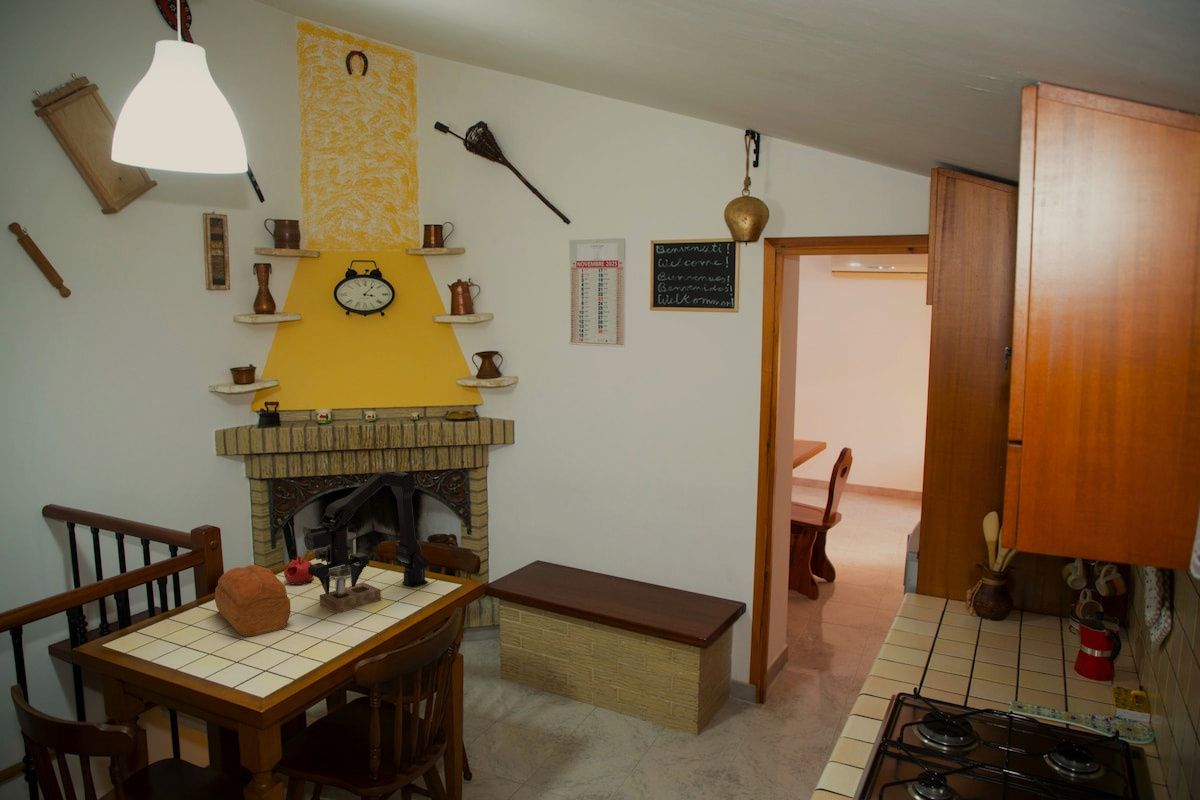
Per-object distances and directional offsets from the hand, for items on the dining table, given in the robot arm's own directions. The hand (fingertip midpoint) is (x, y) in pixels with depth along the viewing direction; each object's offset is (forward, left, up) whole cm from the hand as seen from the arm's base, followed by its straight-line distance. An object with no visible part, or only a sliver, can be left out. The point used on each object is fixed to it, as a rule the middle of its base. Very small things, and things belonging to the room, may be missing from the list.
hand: (340, 590), depth 262 cm
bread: (+24, -10, -6) cm, 27 cm away
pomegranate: (-3, -31, -5) cm, 32 cm away
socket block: (-4, 0, -5) cm, 6 cm away
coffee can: (-17, -27, -5) cm, 32 cm away
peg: (0, 0, -5) cm, 5 cm away
